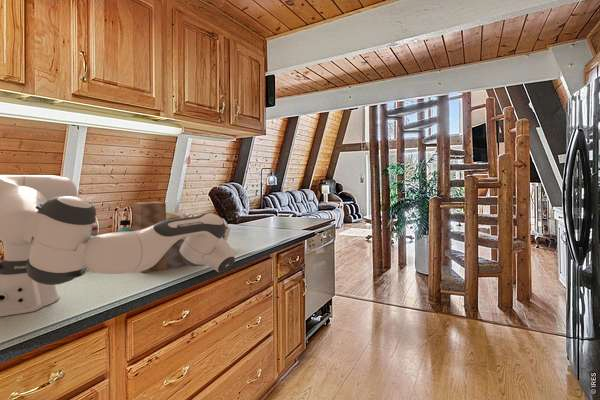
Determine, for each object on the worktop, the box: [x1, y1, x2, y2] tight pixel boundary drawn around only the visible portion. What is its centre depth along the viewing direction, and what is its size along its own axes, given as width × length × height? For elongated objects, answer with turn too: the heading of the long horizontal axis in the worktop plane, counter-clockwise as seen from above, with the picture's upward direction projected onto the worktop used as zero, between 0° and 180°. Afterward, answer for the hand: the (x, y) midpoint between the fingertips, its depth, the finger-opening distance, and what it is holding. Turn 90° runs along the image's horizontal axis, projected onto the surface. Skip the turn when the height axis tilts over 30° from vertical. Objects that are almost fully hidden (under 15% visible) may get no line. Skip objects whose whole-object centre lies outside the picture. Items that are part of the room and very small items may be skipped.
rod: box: [166, 211, 190, 220], centre depth 146 cm, size 3×20×3 cm, turn 42°
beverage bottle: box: [116, 219, 134, 232], centre depth 148 cm, size 6×7×20 cm
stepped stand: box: [132, 201, 189, 274], centre depth 145 cm, size 20×10×28 cm, turn 132°
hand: (193, 215), depth 133 cm, fingers open, 8 cm apart
